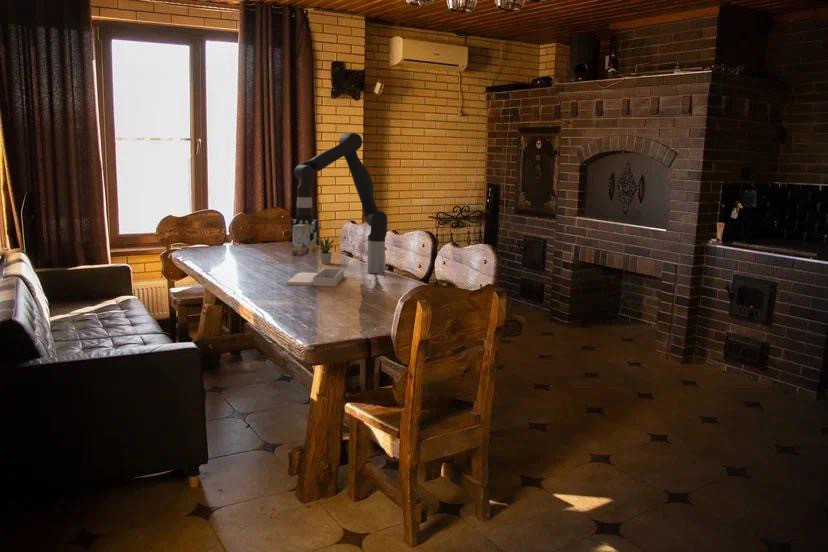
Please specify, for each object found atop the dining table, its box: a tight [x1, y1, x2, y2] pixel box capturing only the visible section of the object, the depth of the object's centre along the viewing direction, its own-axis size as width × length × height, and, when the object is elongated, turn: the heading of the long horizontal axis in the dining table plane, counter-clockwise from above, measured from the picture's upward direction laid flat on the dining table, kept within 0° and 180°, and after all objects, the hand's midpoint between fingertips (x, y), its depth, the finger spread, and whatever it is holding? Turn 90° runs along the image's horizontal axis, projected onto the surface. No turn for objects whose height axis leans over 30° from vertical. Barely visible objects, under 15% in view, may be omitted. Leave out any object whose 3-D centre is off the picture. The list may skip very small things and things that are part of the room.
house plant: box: [317, 235, 338, 265], centre depth 395 cm, size 14×14×16 cm
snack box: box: [292, 222, 318, 258], centre depth 343 cm, size 21×6×15 cm, turn 169°
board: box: [286, 271, 318, 286], centre depth 347 cm, size 12×26×2 cm, turn 176°
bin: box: [312, 267, 345, 287], centre depth 346 cm, size 11×26×4 cm, turn 176°
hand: (304, 240), depth 343 cm, fingers closed on snack box, 6 cm apart
